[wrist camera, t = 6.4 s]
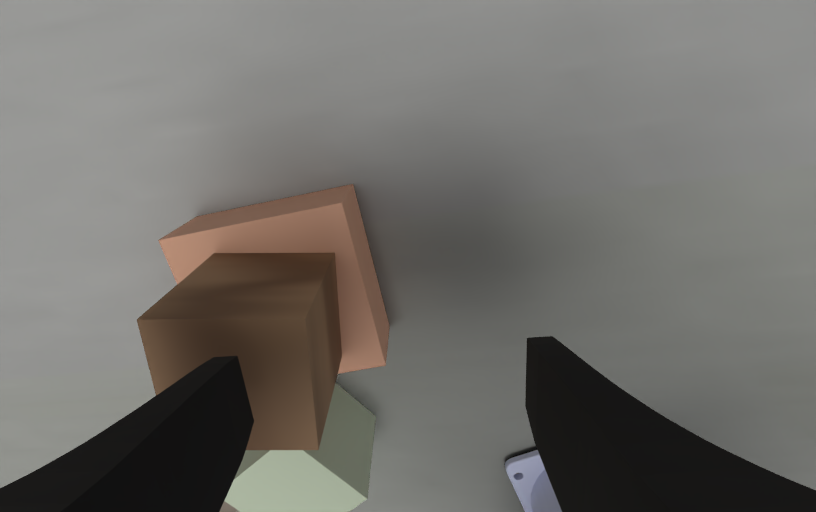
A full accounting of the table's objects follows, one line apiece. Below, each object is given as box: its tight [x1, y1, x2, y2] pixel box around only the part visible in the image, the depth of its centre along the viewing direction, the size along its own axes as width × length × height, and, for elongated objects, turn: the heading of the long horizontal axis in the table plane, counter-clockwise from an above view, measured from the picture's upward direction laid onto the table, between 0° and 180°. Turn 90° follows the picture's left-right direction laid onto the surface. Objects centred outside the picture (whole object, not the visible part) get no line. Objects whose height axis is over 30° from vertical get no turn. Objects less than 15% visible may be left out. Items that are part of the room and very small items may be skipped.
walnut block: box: [137, 253, 342, 450], centre depth 15 cm, size 4×4×5 cm
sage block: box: [224, 383, 376, 512], centre depth 21 cm, size 4×4×5 cm
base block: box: [158, 184, 389, 374], centre depth 19 cm, size 7×7×4 cm
